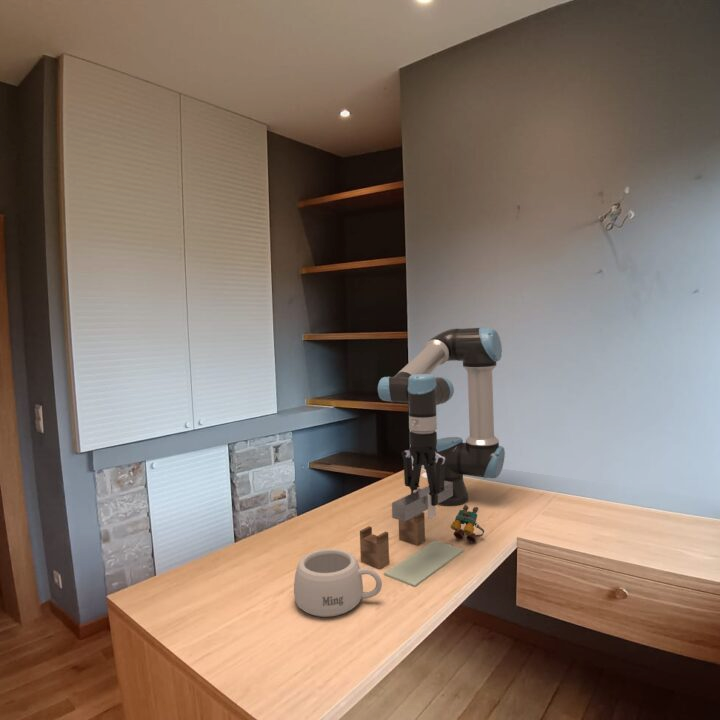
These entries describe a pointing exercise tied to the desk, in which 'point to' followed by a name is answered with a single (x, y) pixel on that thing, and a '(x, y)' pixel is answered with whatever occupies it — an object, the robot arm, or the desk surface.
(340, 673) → the desk surface
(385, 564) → the rack
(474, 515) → the binoculars
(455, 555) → the mat
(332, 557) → the mug
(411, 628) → the desk surface
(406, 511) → the rail
